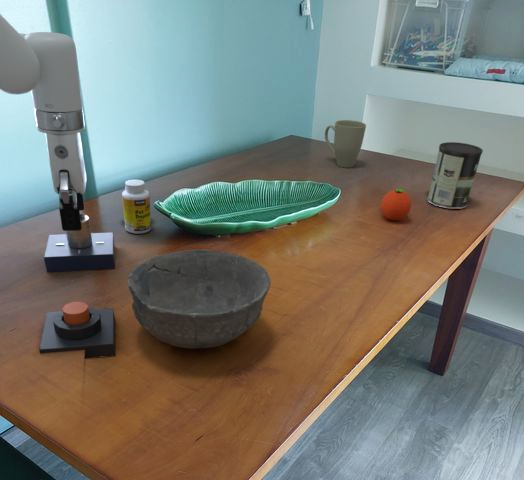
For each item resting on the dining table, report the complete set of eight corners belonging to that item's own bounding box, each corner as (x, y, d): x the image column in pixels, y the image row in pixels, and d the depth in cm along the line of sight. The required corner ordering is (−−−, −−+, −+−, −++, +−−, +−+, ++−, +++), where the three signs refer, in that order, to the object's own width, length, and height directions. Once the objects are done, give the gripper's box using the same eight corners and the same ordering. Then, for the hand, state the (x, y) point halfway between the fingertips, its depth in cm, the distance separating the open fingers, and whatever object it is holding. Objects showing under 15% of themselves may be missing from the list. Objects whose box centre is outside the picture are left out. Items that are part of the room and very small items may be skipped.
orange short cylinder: (63, 327, 77) (61, 314, 75) (65, 314, 79) (63, 302, 78) (89, 325, 77) (87, 313, 76) (90, 312, 80) (88, 300, 79)
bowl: (265, 302, 92) (268, 249, 87) (268, 376, 76) (273, 316, 70) (144, 298, 91) (139, 244, 86) (120, 372, 75) (113, 311, 69)
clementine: (383, 210, 132) (389, 182, 128) (411, 216, 130) (418, 187, 126) (375, 220, 126) (380, 191, 122) (404, 227, 124) (410, 197, 120)
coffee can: (464, 198, 143) (479, 144, 135) (469, 212, 135) (486, 154, 126) (425, 194, 144) (437, 140, 136) (428, 207, 136) (441, 150, 128)
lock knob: (92, 248, 99) (88, 220, 96) (67, 249, 98) (62, 222, 95) (92, 238, 103) (88, 211, 100) (68, 239, 102) (63, 212, 99)
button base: (42, 362, 75) (36, 338, 73) (48, 324, 83) (44, 302, 81) (115, 356, 78) (112, 333, 75) (114, 319, 85) (112, 298, 83)
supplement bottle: (136, 237, 112) (132, 188, 106) (120, 229, 115) (114, 181, 109) (157, 230, 115) (154, 182, 109) (140, 222, 118) (137, 176, 112)
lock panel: (46, 272, 97) (43, 256, 95) (51, 248, 105) (49, 233, 103) (114, 268, 100) (113, 253, 98) (114, 246, 108) (113, 231, 106)
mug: (355, 160, 167) (362, 120, 160) (362, 170, 159) (369, 128, 152) (321, 159, 166) (326, 118, 159) (326, 169, 158) (331, 126, 151)
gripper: (81, 133, 82) (93, 238, 91) (86, 109, 96) (96, 203, 105) (29, 132, 80) (47, 239, 90) (41, 108, 94) (56, 203, 104)
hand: (73, 219), depth 98 cm, fingers open, 9 cm apart
